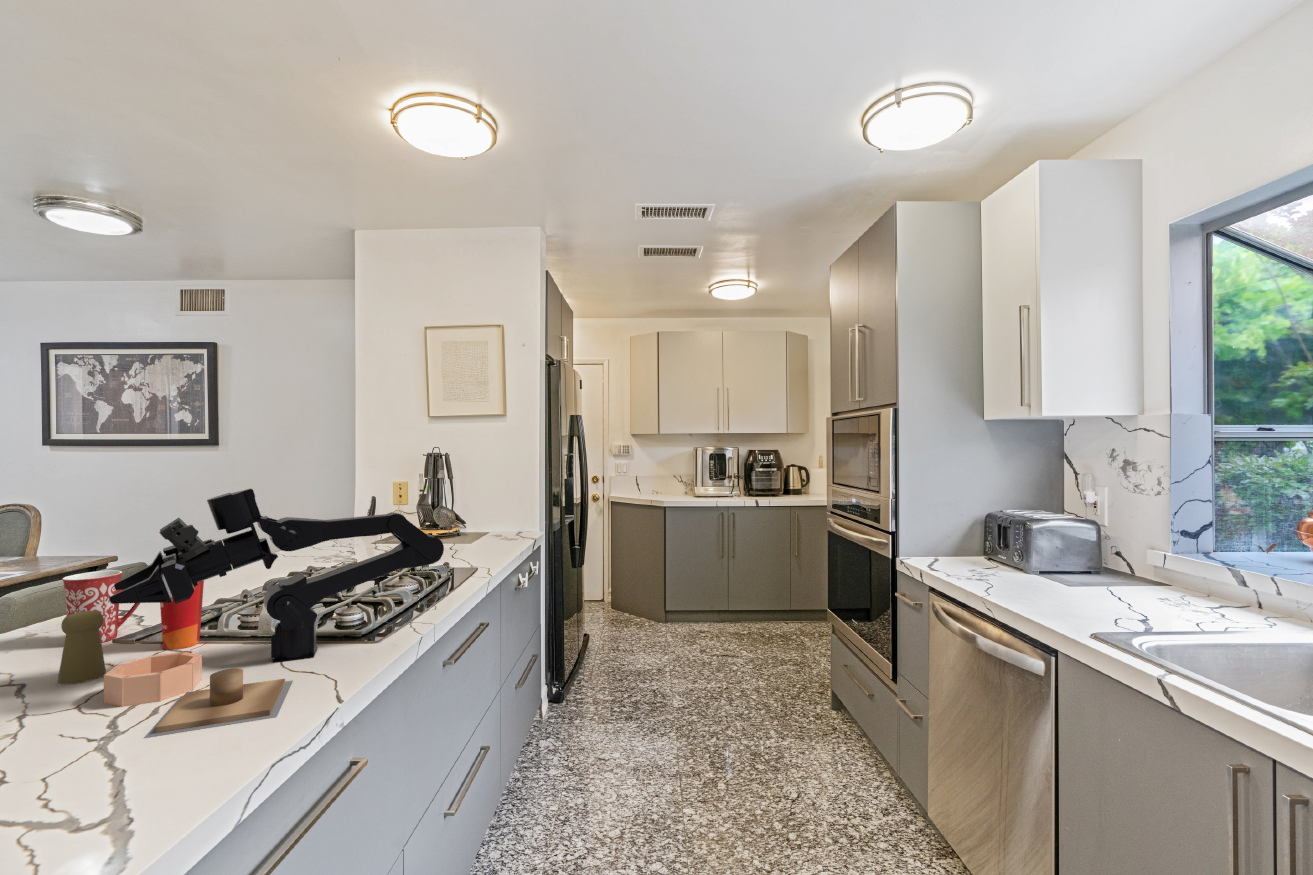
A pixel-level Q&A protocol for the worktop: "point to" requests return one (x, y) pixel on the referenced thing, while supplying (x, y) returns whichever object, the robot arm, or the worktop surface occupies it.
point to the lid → (223, 702)
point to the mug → (96, 599)
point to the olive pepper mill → (82, 648)
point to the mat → (273, 714)
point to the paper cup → (182, 621)
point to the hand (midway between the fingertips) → (112, 593)
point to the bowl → (152, 679)
